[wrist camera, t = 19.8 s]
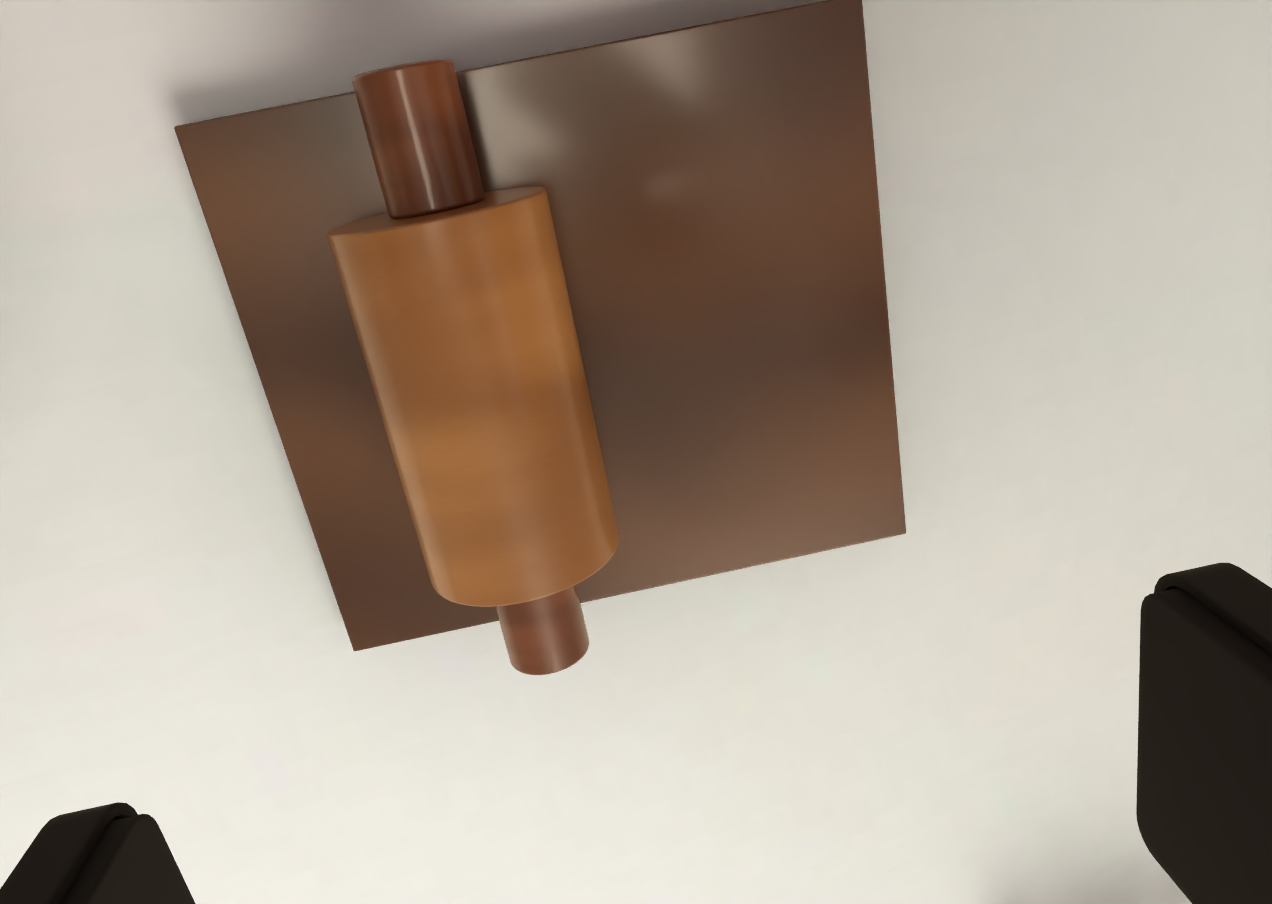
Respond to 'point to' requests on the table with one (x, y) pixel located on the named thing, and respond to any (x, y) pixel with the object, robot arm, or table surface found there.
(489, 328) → the rolling pin
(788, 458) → the pastry board
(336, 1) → the table surface
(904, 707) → the table surface
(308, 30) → the table surface
